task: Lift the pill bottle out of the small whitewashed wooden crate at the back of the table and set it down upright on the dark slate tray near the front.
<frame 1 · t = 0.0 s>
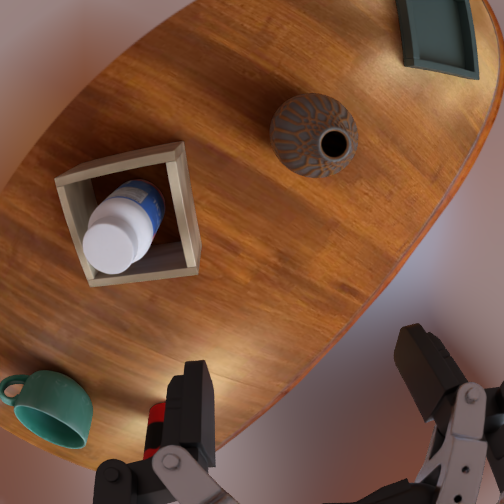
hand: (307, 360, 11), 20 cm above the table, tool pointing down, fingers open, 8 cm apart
soda can: (172, 412, 45), on the table
crate: (139, 204, 28), on the table
vase: (301, 130, 26), on the table
mug: (54, 378, 40), on the table
tray: (434, 28, 21), on the table
pill bottle: (140, 203, 28), resting in crate
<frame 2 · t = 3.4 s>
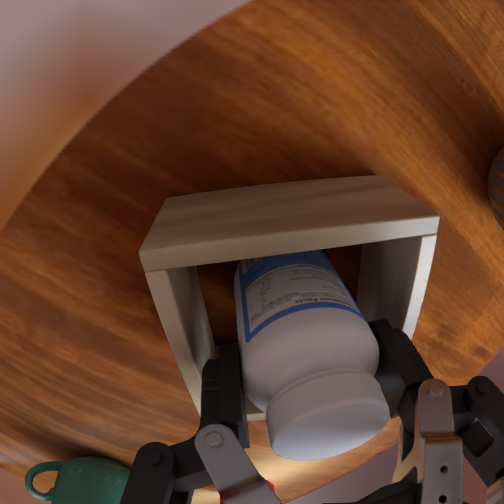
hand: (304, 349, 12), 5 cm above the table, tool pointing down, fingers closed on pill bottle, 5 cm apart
crate: (283, 277, 17), on the table
vase: (502, 176, 15), on the table
mug: (94, 460, 29), on the table
pill bottle: (282, 275, 17), resting in crate, touching gripper
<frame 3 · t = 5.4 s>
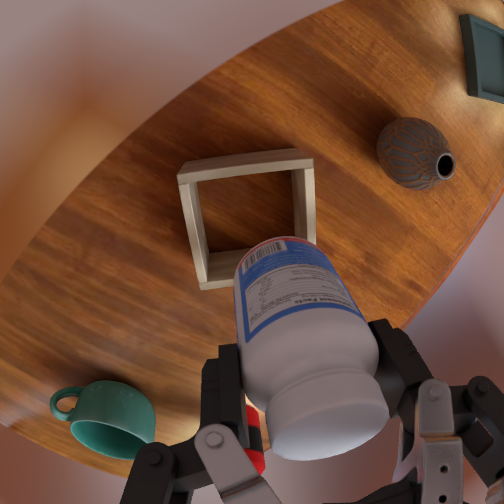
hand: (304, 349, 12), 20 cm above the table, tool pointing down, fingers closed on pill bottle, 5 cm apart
soda can: (235, 414, 46), on the table
crate: (247, 206, 30), on the table
vase: (394, 146, 28), on the table
mug: (110, 388, 41), on the table
tray: (488, 62, 23), on the table
pill bottle: (282, 275, 17), point 14 cm above the table, touching gripper
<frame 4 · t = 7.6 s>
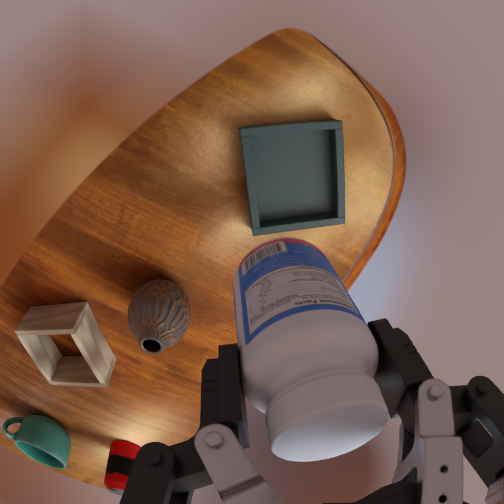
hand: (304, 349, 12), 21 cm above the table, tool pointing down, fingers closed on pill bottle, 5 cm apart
soda can: (127, 446, 53), on the table
crate: (72, 333, 37), on the table
vase: (164, 293, 35), on the table
mug: (42, 419, 49), on the table
tray: (293, 174, 30), on the table
pill bottle: (282, 276, 17), point 15 cm above the table, touching gripper
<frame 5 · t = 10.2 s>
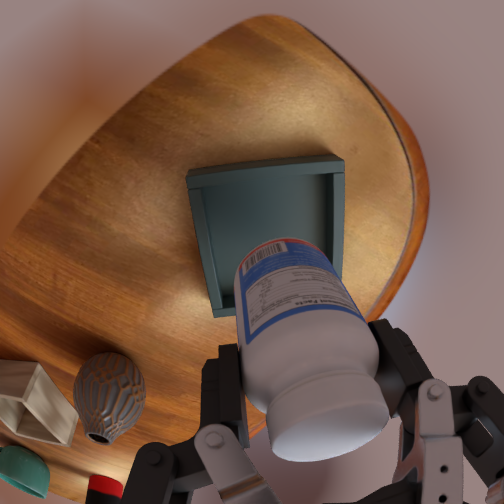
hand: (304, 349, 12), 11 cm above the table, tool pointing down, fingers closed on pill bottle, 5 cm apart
soda can: (106, 480, 46), on the table
crate: (31, 387, 29), on the table
vase: (117, 364, 27), on the table
mug: (21, 448, 41), on the table
tray: (269, 234, 22), on the table
pill bottle: (282, 276, 17), point 5 cm above the table, touching gripper
when the fingers open (6 cm above the table, at t = 12.0 s): pill bottle stays where it is, resting on tray.
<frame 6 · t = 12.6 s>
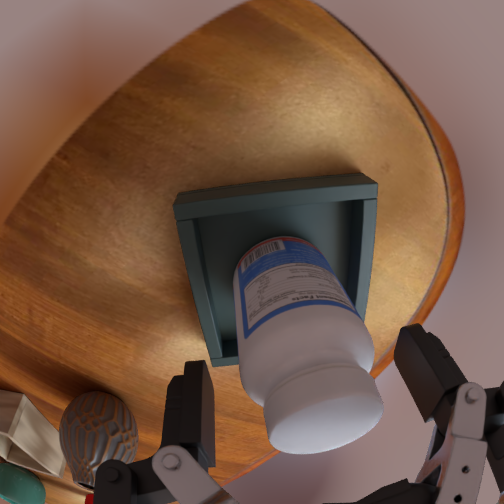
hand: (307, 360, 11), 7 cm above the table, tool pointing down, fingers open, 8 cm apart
soda can: (103, 498, 41), on the table
crate: (19, 415, 25), on the table
vase: (106, 402, 23), on the table
mug: (15, 465, 37), on the table
tray: (280, 271, 17), on the table
pill bottle: (280, 274, 17), resting on tray
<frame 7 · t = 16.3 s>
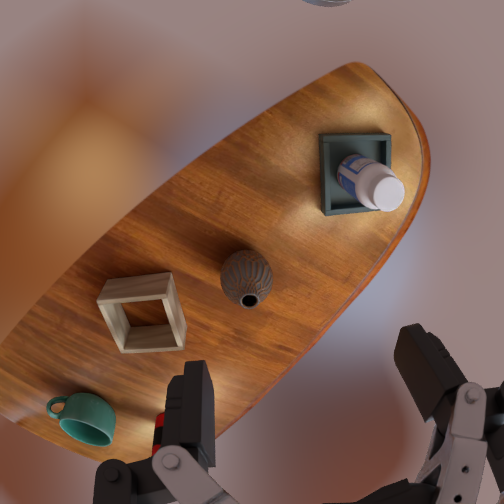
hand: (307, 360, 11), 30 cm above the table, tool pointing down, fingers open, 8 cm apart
soda can: (171, 419, 63), on the table
crate: (147, 303, 46), on the table
vase: (244, 263, 44), on the table
mug: (86, 397, 58), on the table
tray: (353, 171, 39), on the table
pill bottle: (354, 172, 39), resting on tray
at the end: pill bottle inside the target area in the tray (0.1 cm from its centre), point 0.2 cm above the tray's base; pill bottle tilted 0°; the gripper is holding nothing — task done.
